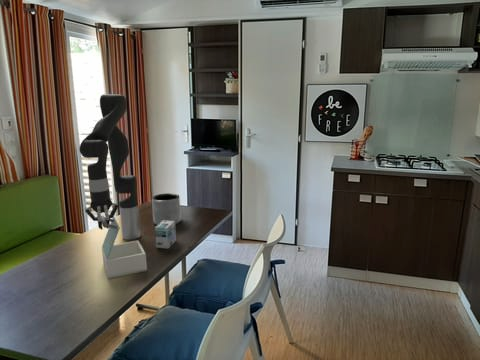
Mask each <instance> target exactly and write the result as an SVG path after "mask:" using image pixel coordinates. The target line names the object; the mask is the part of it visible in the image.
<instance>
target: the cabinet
mask: <svg viewBox="0 0 480 360" xmlns="http://www.w3.org/2000/svg"><path fill="white" fill-rule="evenodd" d="M101 252H102V253H101V254H102V261H103V262H102V263H103V267H104V269H105V273H106V277H107V280H110V279H115V278H119V277H121V278H122V277H125V276H130V275H135V274H138V273H143V272H147V271H148V266H147V254H146V252H145V250H144V248H143V246H142V244H141V242H140V241H139V240H132V241H128V242H127V241H125V242H121V243H114V245H113V247H112V250H111V253H110V255H109V258H108V260H107V259H106V257H105V253H104V250H103V247H102V246H101Z"/></svg>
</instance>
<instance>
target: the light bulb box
mask: <svg viewBox="0 0 480 360" xmlns="http://www.w3.org/2000/svg"><path fill="white" fill-rule="evenodd" d="M154 231H155V232H154V234H155V247H156V248H159V249H170V247H172V245H173V244H174V243H175V242H176V241H177V236H176V224H175V221H166V220H163V221H162V222H161V223H160V224H158V225H156V226H155V227H154Z"/></svg>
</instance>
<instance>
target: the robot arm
mask: <svg viewBox="0 0 480 360" xmlns="http://www.w3.org/2000/svg"><path fill="white" fill-rule="evenodd" d="M99 107H100V113H101V115H102V116H101V117H102V118H101V119H99V120H97V122H96V124H95V125H94V126H93V129H92V131H91V132H90V133H88V135H87V136H86V137H84V138H83V140H82V141H81V142H80V145H79V153H80V155H81V156H82V157H84V158H88V159H96V158H97V162H93V163H90V164H88V166H87V176H88V190H89V195H90V205H89V206H88V207H86V208H85V209H84V211H85V213H86V215H88V216H89V217H90V219H92V221H93V222H97V224H98V225H97V226H98V229H99V230H101V231H102V230H103V228H104V227H103V225H102V221H101V216H102V214H103V213H104V215H105V216H104V217H106V219H105V220H106V222H107V224H111V222H110V221H109V220H110V219H113V217H115V214H116V213H117V210H118V208H119V215H120V216H119V217H120V224H121V227H120V228H121V235H122V239H123V240H127V241H129V240H132V241H133V240H136V239H138V238H140V237H141V226H140V214H139V203H138V202H139V201H138V181H137V176H135V175H122V174H121V172H122V171H121V170H122V168H123V167H124V166H123V165H124V164H125V162H126V160H127V158H128V157H129V155H130V147H129V141H128V138H127V136H126V135H125V133H124V132H123V131H122V130H121V128H120V127H119V126H118V125H117V124H118V123H119V122H120V121H121V119H122V118H123V116H125V114H126V112H127V108H128V103H127V98H126V97H125V95H123V94H119V93H118V94H115V93H113V94H112V93H108V94H107V93H105V94H101V96H100V98H99ZM108 154H109V156H110V157H109V158H110V161H111V168H112V174H113V175H112V176H113V186H114V190H115V192H116V193H117V194H119V195H121V194H123V195H124V194H129V196H128V197H125V198H122V199H121V200H119V203H116V202H115V203H114V202H113V201H112V200H111V193H110V192H111V191H110V183H109V179H108V173H107V160H108ZM110 208H112V209H111V211H110V213H109V210H110ZM92 210H93V211H94V212H95V213H96V216H95V215H94V214H93V212H92ZM106 229H109V227H106Z"/></svg>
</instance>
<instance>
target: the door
mask: <svg viewBox="0 0 480 360" xmlns="http://www.w3.org/2000/svg"><path fill="white" fill-rule="evenodd" d="M105 219H106V217H105V216H104V215H101V221H102V228H104V229H105V228H106V227H109V228H108V230H107V232H106V235H105V238H104V240H103V243H102V245H101V248H102V247H103V250H104V253H105V257H106V259H107V260H108V258H109V255H110V253H111V250H112V247H113V245H115V243H116V242H115V241H116V239H117V237H118V234H119V231H120V228H121V227H120V225H119V224H118V222H117V218H116V217H115V216H114V217H113V218H110V220H109V221H110V224H107V222H106V220H105ZM106 229H107V228H106Z"/></svg>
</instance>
